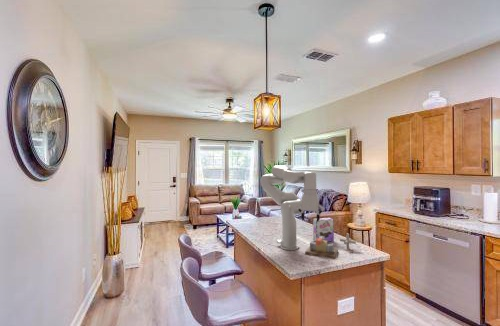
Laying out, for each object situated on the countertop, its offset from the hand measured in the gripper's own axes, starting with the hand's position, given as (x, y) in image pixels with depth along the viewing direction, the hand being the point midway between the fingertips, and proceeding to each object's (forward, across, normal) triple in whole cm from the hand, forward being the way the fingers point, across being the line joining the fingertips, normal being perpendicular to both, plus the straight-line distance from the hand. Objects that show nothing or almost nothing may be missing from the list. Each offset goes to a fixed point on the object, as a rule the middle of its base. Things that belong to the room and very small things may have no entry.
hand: (310, 220), depth 156 cm
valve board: (+22, +5, +9) cm, 24 cm away
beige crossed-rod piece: (+22, +19, +25) cm, 38 cm away
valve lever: (+14, +5, +4) cm, 15 cm away
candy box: (+22, +1, +36) cm, 42 cm away
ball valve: (+21, +5, +9) cm, 23 cm away
